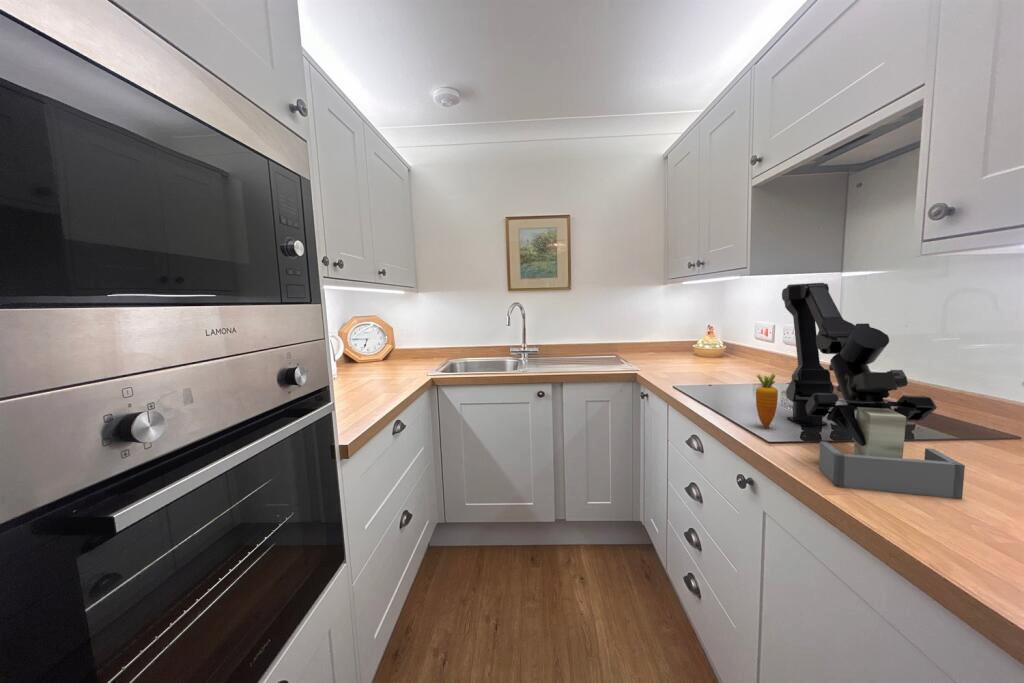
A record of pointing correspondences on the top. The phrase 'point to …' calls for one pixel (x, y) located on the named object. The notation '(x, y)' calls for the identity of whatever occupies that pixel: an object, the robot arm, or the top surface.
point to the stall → (894, 472)
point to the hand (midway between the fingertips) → (881, 446)
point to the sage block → (881, 432)
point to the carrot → (766, 400)
